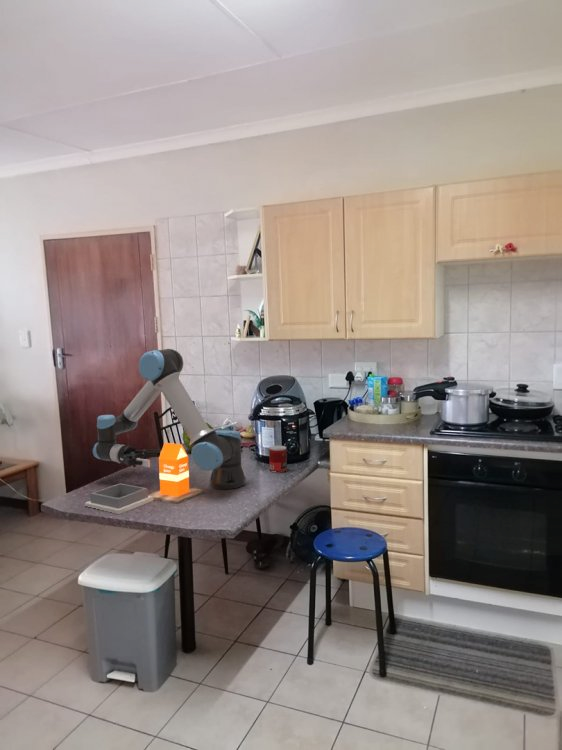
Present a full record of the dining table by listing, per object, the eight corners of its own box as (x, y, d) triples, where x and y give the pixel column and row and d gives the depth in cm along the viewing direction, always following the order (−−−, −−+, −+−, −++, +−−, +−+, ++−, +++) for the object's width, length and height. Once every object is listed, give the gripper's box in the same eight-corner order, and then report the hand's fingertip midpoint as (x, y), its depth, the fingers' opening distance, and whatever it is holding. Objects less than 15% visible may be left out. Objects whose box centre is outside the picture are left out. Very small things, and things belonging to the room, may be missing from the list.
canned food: (285, 473, 256) (284, 449, 255) (267, 472, 258) (267, 449, 256) (288, 469, 263) (287, 445, 262) (271, 468, 265) (271, 445, 264)
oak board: (203, 492, 230) (203, 490, 230) (177, 503, 216) (177, 501, 216) (173, 487, 238) (173, 484, 238) (146, 497, 224) (146, 495, 224)
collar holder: (153, 500, 221) (153, 487, 220) (118, 514, 206) (118, 501, 205) (120, 493, 230) (120, 481, 230) (85, 506, 215) (84, 493, 214)
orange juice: (171, 488, 233) (170, 440, 231) (189, 491, 229) (188, 442, 227) (159, 494, 226) (157, 444, 224) (177, 496, 222) (176, 446, 220)
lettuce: (208, 457, 315) (227, 434, 315) (198, 460, 292) (219, 436, 292) (186, 437, 317) (205, 415, 317) (174, 438, 294) (195, 414, 294)
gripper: (145, 456, 251) (181, 461, 240) (100, 469, 230) (139, 476, 219) (144, 439, 250) (181, 444, 239) (100, 451, 229) (138, 457, 218)
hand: (161, 459), depth 229 cm, fingers open, 13 cm apart
